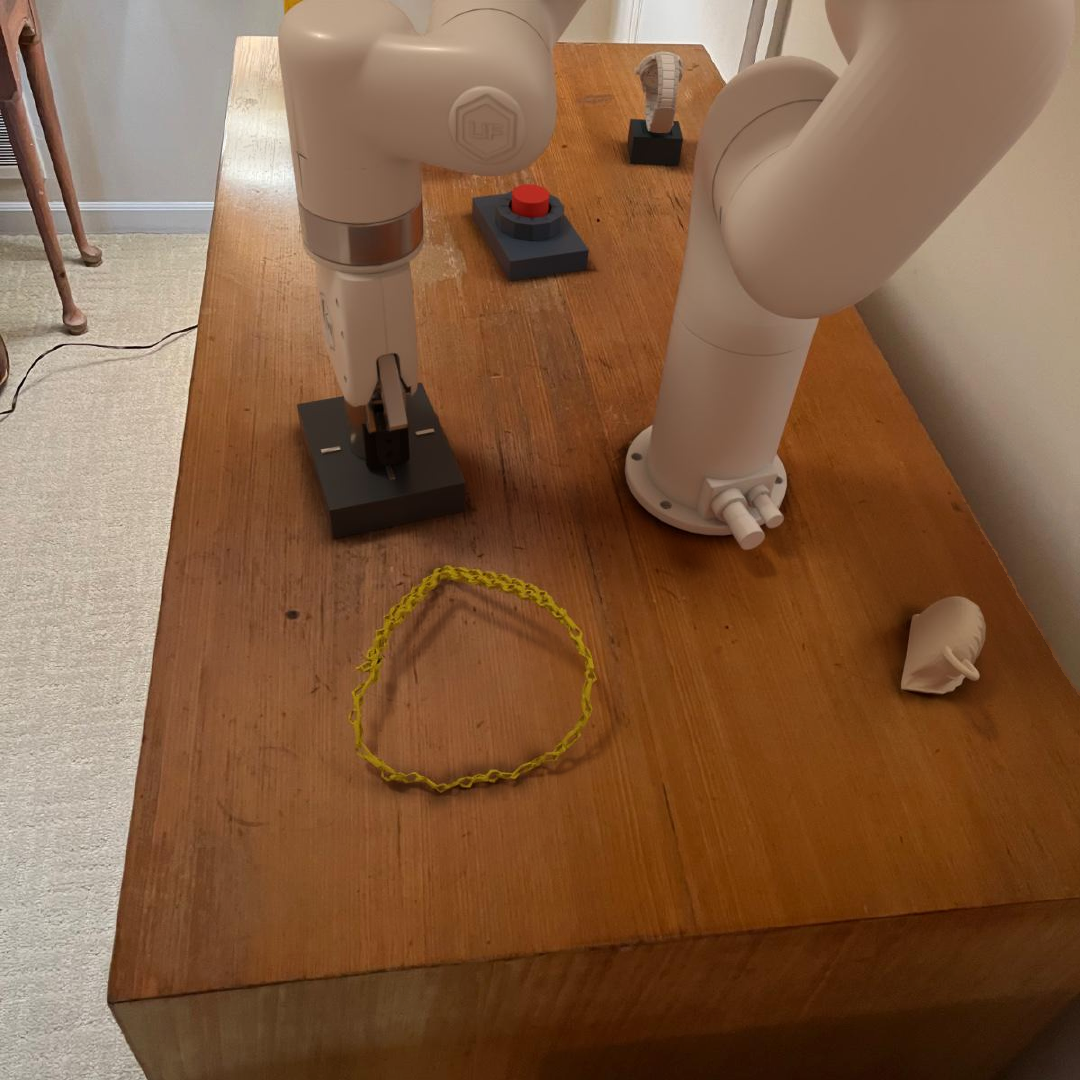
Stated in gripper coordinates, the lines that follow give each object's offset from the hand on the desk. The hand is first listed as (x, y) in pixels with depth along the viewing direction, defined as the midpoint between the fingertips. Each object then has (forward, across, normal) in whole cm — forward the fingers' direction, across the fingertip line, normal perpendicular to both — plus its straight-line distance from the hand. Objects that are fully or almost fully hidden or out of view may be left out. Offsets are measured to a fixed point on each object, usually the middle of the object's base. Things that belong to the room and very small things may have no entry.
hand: (378, 438), depth 76 cm
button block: (+3, -28, +22) cm, 36 cm away
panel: (+3, 0, 0) cm, 3 cm away
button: (0, -28, +22) cm, 36 cm away
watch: (+4, -42, +42) cm, 60 cm away
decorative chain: (+4, +20, 0) cm, 20 cm away
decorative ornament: (+4, +29, +31) cm, 43 cm away
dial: (0, 0, 0) cm, 0 cm away
